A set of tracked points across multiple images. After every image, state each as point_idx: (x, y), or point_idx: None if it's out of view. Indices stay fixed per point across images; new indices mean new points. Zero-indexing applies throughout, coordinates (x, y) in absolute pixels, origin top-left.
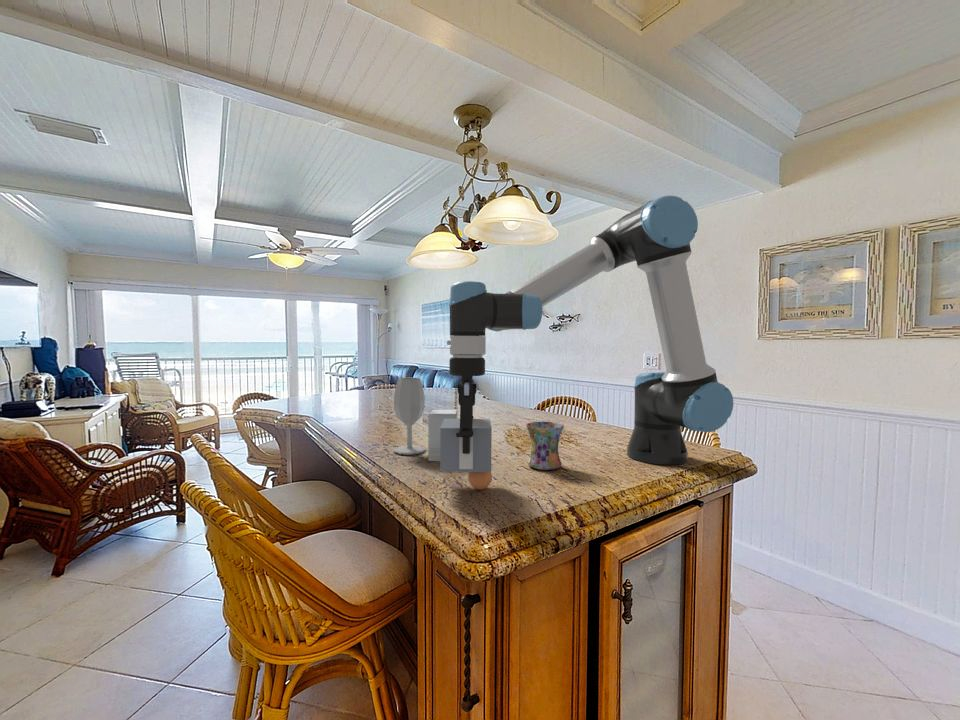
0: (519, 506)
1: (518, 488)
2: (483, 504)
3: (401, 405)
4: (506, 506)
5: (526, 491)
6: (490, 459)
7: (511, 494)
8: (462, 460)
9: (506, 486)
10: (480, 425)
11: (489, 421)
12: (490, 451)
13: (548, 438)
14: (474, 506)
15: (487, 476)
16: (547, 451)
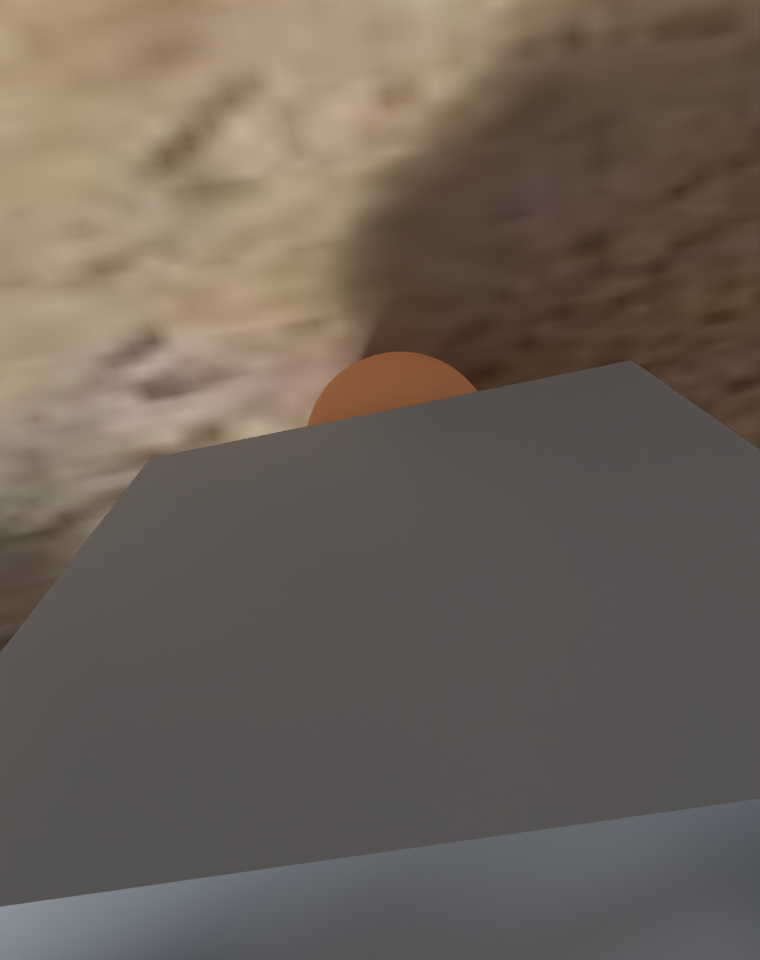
0: (732, 39)
1: (316, 100)
2: (677, 335)
3: None
4: (723, 158)
5: (376, 3)
6: (697, 412)
7: (471, 150)
8: None
9: (294, 222)
10: (712, 954)
11: (142, 901)
12: (750, 456)
13: None
14: (708, 384)
15: (464, 389)
16: None
